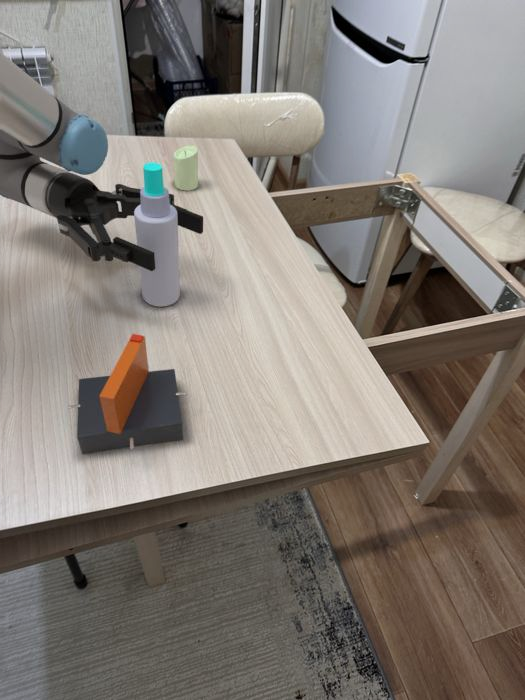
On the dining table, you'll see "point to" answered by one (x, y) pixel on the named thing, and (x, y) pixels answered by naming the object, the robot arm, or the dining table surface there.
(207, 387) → the dining table surface
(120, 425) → the orange toy brick
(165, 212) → the spray bottle
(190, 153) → the candle
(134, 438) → the dark square tile
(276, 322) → the dining table surface
